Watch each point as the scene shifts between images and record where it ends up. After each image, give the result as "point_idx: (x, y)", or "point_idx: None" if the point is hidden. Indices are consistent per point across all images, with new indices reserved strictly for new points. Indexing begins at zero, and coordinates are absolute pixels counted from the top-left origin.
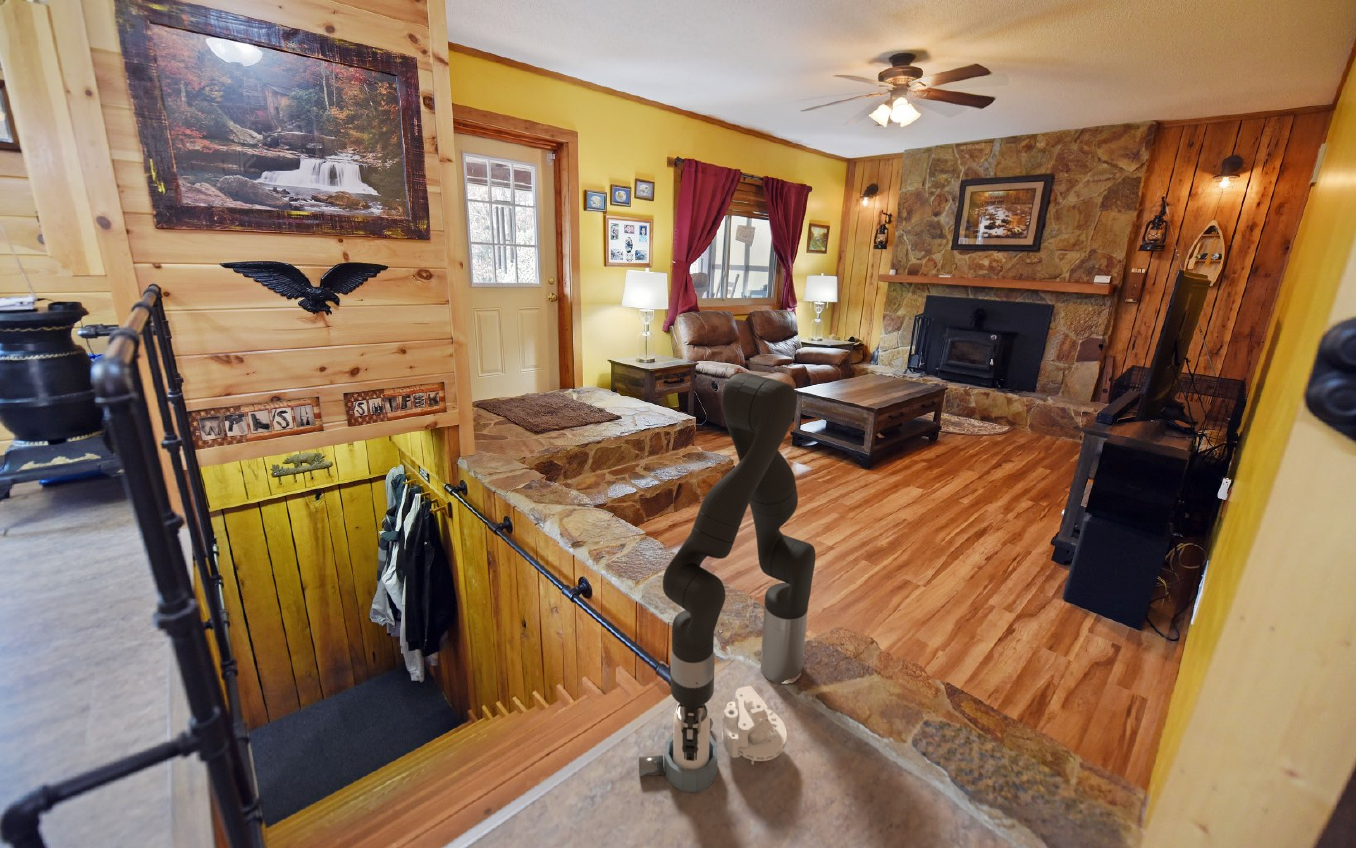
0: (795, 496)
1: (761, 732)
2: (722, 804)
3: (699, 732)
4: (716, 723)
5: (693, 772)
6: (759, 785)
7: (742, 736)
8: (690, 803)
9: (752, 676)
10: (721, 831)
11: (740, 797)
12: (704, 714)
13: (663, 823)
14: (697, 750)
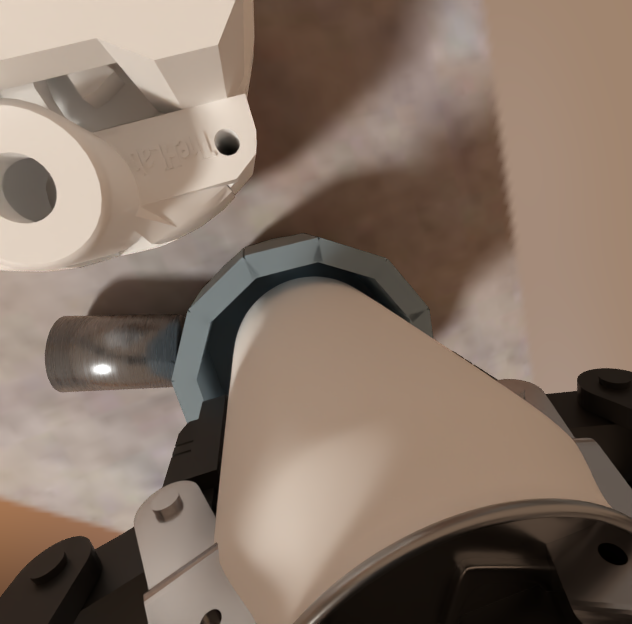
0: None
1: None
2: (399, 183)
3: (591, 446)
4: (34, 301)
5: (420, 326)
6: (279, 32)
7: (241, 32)
8: (420, 295)
9: None
10: (488, 166)
11: (355, 115)
12: (471, 534)
13: (493, 351)
14: (627, 376)
